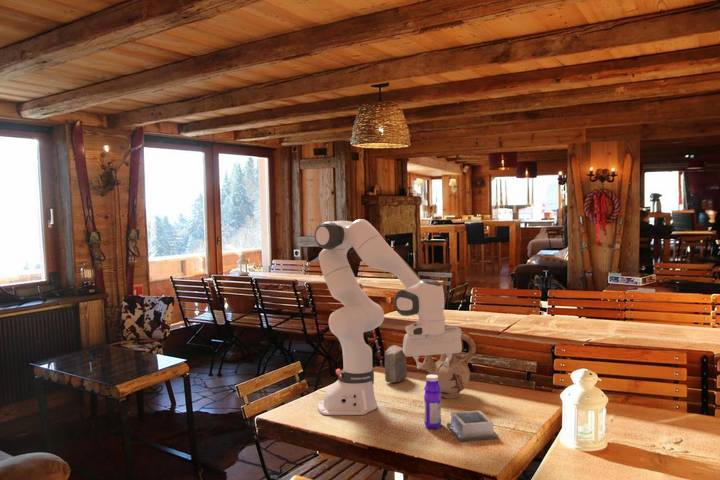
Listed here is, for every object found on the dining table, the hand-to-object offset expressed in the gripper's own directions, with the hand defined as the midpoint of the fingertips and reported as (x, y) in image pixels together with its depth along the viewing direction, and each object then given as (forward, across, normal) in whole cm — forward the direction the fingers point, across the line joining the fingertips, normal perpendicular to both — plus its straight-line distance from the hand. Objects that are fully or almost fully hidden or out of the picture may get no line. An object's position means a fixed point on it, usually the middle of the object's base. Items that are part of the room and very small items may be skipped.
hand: (432, 367), depth 189 cm
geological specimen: (+20, +1, -52) cm, 56 cm away
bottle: (+21, 0, 0) cm, 21 cm away
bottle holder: (+21, -11, +8) cm, 24 cm away
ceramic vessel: (+20, -15, -30) cm, 40 cm away
